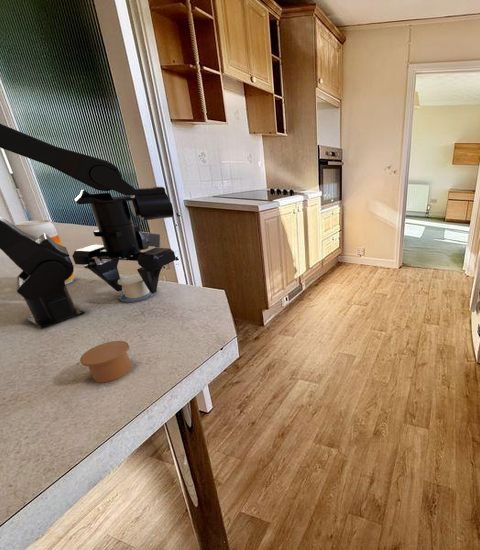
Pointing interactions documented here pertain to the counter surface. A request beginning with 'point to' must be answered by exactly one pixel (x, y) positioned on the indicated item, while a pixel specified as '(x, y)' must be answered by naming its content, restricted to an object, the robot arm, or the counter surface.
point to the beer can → (38, 229)
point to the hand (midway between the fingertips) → (136, 291)
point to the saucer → (135, 298)
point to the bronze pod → (107, 361)
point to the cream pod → (133, 286)
